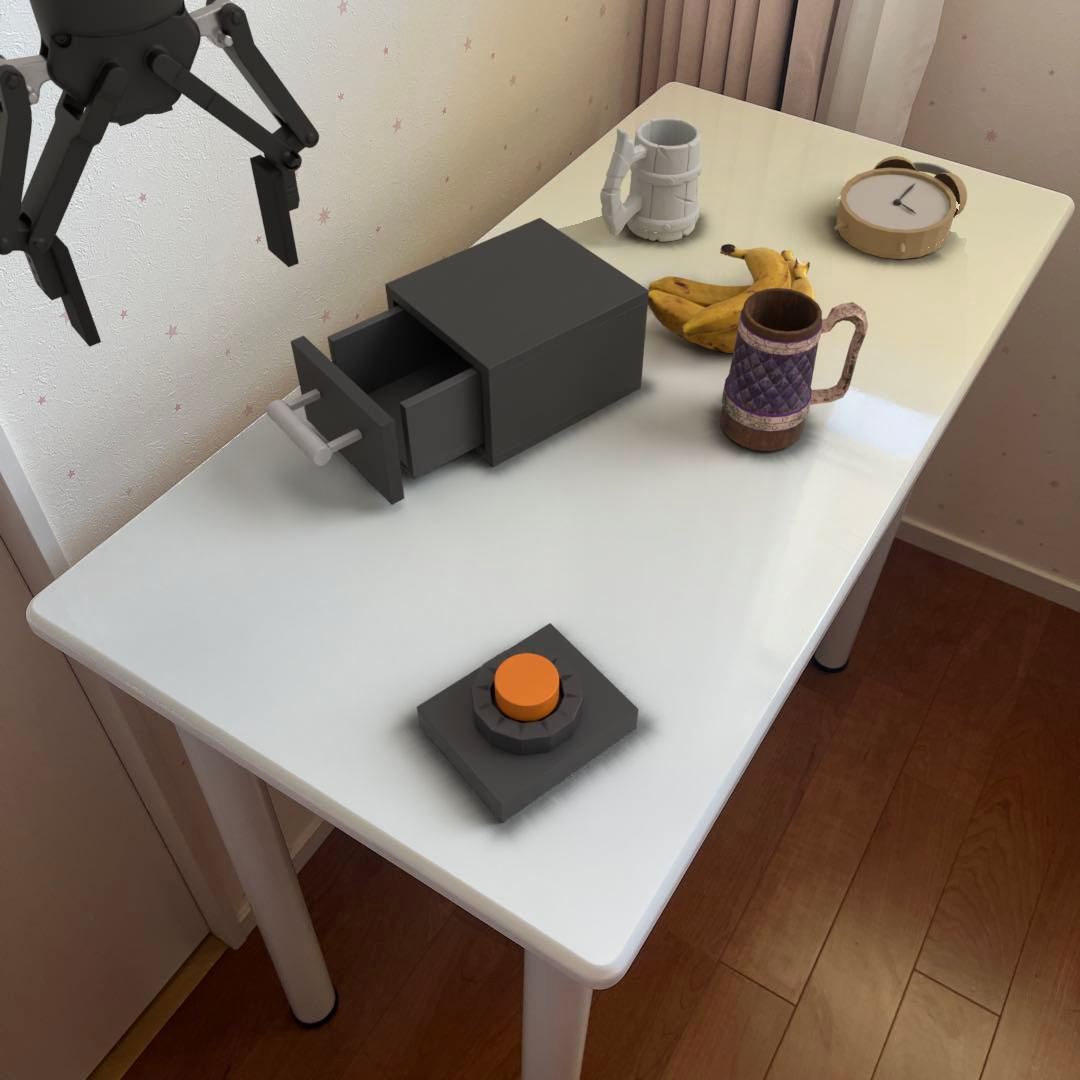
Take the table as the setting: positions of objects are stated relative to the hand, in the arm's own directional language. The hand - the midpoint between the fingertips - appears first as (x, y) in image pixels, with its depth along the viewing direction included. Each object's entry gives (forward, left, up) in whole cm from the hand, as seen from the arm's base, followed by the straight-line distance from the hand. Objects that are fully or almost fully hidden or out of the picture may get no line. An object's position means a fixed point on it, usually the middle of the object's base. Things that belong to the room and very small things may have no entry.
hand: (189, 294), depth 70 cm
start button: (+22, -18, -17) cm, 33 cm away
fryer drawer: (+11, +9, -19) cm, 24 cm away
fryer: (+20, +17, -21) cm, 33 cm away
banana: (+39, +28, -21) cm, 52 cm away
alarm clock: (+58, +44, -21) cm, 75 cm away
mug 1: (+32, +42, -21) cm, 56 cm away
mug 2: (+42, +12, -21) cm, 48 cm away
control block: (+22, -18, -21) cm, 35 cm away
